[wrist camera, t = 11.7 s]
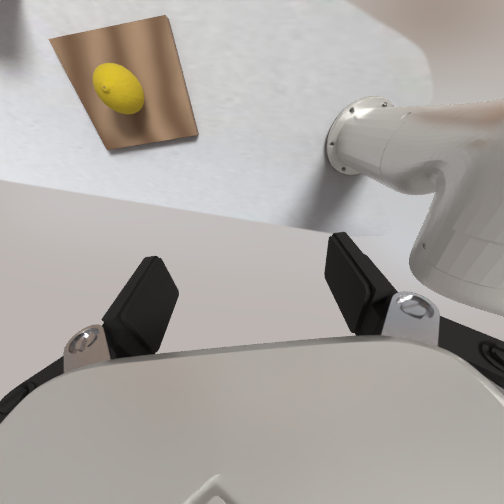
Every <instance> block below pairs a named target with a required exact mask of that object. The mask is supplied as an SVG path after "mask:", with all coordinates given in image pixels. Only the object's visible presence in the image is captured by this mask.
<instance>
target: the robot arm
mask: <svg viewBox="0 0 504 504" xmlns="http://www.w3.org/2000/svg"><path fill="white" fill-rule="evenodd" d="M382 104H383V106H382ZM350 109H351V111H350V112H349V110H350ZM331 142H332V145H330V143H331ZM326 148H327V156H328V159H329V161H330V164H331V165H332V166H333V167H334V168H335V169H336V170H337V171H339V172H341V173H343V174H347V175H356V174H361V173H362V174H364V175H366V176H368V177H370V178H372V179H374V180H376V181H378V182H379V183H381V184H383V185H385V186H387V187H389V188H392V189H393V190H395V191H397V192H400V193H403V194H408V195H424V194H429V193H434V192H436V193H435V195H434V198H433V201H432V203H431V205H430V207H429V212H428V214H427V216H426V219H425V221H424V223H423V225H422V227H421V230H420V232H419V234H418V236H417V238H416V241H415V243H414V245H413V248H412V251H411V254H410V258H409V265H410V269H411V271H412V273H413V275H414V276H415V277H416V278H417V279H418V281H420V282H421V283H422V284H423V285H425V286H426V287H428V288H429V289H431V290H433V291H434V292H436V293H438V294H440V295H442V296H445V297H447V298H449V299H452V300H454V301H457V302H459V303H462V304H465V305H468V306H471V307H474V308H477V309H481V310H484V311H487V312H490V313H494V314H497V315H500V316H504V99H500V100H493V101H487V102H477V103H467V104H449V105H435V106H434V105H433V106H408V107H394V105H393V104H392V103H391V102H390V101H389V100H387V99H385V98H384V97H379V96H370V97H365V98H362V99H359V100H357V101H355V102H353V103H352V104H350V105H349V106H348V107H346V108H345V109H344V110H343V111H342V112H341V113H340V115H339V116H338V117H337V118H336V120H335V122H334V123H333V125H332V127H331V129H330V132H329V135H328V138H327V146H326ZM342 167H343V169H342ZM325 279H326V281H327V283H328V285H329V287H330V290H331V292H332V294H333V296H334V298H335V300H336V302H337V304H338V306H339V309H340V311H341V313H342V315H343V317H344V319H345V321H346V323H347V325H348V327H349V329H350V331H351V332H352V333H355V334H356V336H346V337H333V338H319V339H308V340H297V341H287V342H275V343H264V344H253V345H243V346H232V347H222V348H212V349H201V350H191V351H181V352H172V353H161V354H155V352H157V351H158V350H159V348H160V345H161V342H162V339H163V337H164V334H165V331H166V329H167V326H168V323H169V321H170V318H171V315H172V312H173V310H174V307H175V304H176V301H177V299H178V296H179V291H178V289H177V287H176V285H175V283H174V281H173V279H172V278H171V276H170V274H169V272H168V270H167V268H166V266H165V264H164V263H163V261H162V259H161V258H158V257H157V256H151V257H145V258H144V259H143V261H142V262H141V264H140V265H139V266H138V268H137V269H136V271H135V272H134V274H133V275H132V277H131V278H130V279H129V281H128V282H127V284H126V285H125V286H124V288H123V289H122V291H121V292H120V294H119V295H118V297H117V298H116V299H115V301H114V302H113V304H112V305H111V307H110V308H109V309H108V311H107V312H106V314H105V315H104V317H103V318H102V321H104V324H103V325H102V326H101V325H91V326H88V327H86V328H84V329H82V330H81V331H79V332H78V333H77V334H75V335H74V336H73V337H72V338H71V339H70V340H69V342H68V343H67V345H66V346H65V349H64V356H63V357H61V358H60V359H58V360H57V361H55V362H54V363H52V364H51V365H49V366H47V367H46V368H44V369H43V370H41V371H40V372H38V373H37V374H35V375H34V376H32V377H31V378H29V379H28V380H26V381H25V382H23V383H22V384H20V385H19V386H17V387H16V388H14V389H13V390H12V391H10V392H9V393H8V394H7V395H6V396H5V397H4V398H3V399H2V400H1V401H0V504H504V342H503V341H501V340H498V339H496V338H493V337H491V336H488V335H486V334H483V333H481V332H479V331H476V330H474V329H471V328H469V327H466V326H464V325H461V324H459V323H456V322H454V321H451V320H449V319H447V318H444V317H442V316H440V314H439V310H438V308H437V307H436V305H435V304H433V303H432V302H431V301H430V300H429V299H427V298H425V297H424V296H421V295H419V294H416V293H412V292H397V291H396V289H395V288H394V287H393V286H392V285H391V283H390V282H389V281H388V280H387V279H386V278H385V276H384V275H383V274H382V273H381V272H380V270H379V269H378V268H377V267H376V266H375V265H374V263H373V262H372V261H371V260H370V259H369V257H368V256H367V255H365V254H363V253H362V251H361V250H360V249H359V248H358V247H357V246H356V244H355V243H354V242H353V241H352V239H351V238H350V237H349V236H348V235H347V233H346V232H339V233H333V235H332V236H330V237H329V241H328V249H327V257H326V266H325Z"/></svg>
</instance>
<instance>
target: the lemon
mask: <svg viewBox="0 0 504 504" xmlns="http://www.w3.org/2000/svg"><path fill="white" fill-rule="evenodd" d="M93 85H94V89H95V91H96V93H97V95H98V96H99V98H100V99H101V101H102V102H103V103H104V104H105V105H107V106H108V107H109V108H111V109H112V110H114V111H116V112H119V113H122V114H134V113H136V112H138V111H139V110H140V109H141V108H142V106H143V104H144V92H143V89H142V86H141V84H140V82H139V81H138V79H137V78H136V77H135V76H134V75H133V74H132V73H131V72H130V71H129V70H128V69H126V68H125V67H123V66H121V65H118V64H115V63H104V64H101V65H99V66H98V67H97V68H96V69H95V71H94V73H93Z"/></svg>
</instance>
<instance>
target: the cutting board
mask: <svg viewBox="0 0 504 504" xmlns="http://www.w3.org/2000/svg"><path fill="white" fill-rule="evenodd" d="M49 41H50V43H51V45H52V47H53V48H54V50H55V52H56V54H57V56H58V58H59V60H60V62H61V64H62V66H63V67H64V69H65V71H66V73H67V75H68V77H69V79H70V81H71V83H72V85H73V86H74V88H75V90H76V92H77V94H78V96H79V98H80V100H81V102H82V104H83V105H84V107H85V109H86V111H87V113H88V115H89V117H90V119H91V121H92V123H93V124H94V126H95V128H96V130H97V132H98V134H99V136H100V138H101V140H102V142H103V143H104V145H105V147H106V149H107V150H111V149H117V148H123V147H129V146H135V145H140V144H146V143H152V142H158V141H164V140H170V139H176V138H182V137H188V136H194V135H198V134H199V133H198V129H197V126H196V122H195V118H194V114H193V110H192V106H191V103H190V99H189V95H188V91H187V87H186V83H185V79H184V76H183V72H182V68H181V64H180V60H179V56H178V52H177V49H176V45H175V41H174V37H173V33H172V29H171V26H170V22H169V19H168V18H167V16H166V15H163V16H158V17H153V18H149V19H144V20H139V21H134V22H129V23H124V24H120V25H115V26H110V27H105V28H100V29H95V30H91V31H86V32H81V33H76V34H71V35H66V36H62V37H57V38H52V39H49ZM104 63H115V64H118V65H121V66H123V67H125V68H126V69H128V70H129V71H130V72H131V73H132V74H133V75H134V76H135V77H136V78H137V79H138V81H139V82H140V84H141V86H142V89H143V92H144V104H143V106H142V108H141V109H140V110H139V111H138V112H136V113H134V114H122V113H119V112H116V111H114V110H112V109H111V108H109V107H108V106H107V105H105V104H104V103H103V102H102V101H101V99H100V98H99V96H98V95H97V93H96V91H95V89H94V85H93V73H94V71H95V69H96V68H97V67H98V66H99V65H101V64H104Z"/></svg>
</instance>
